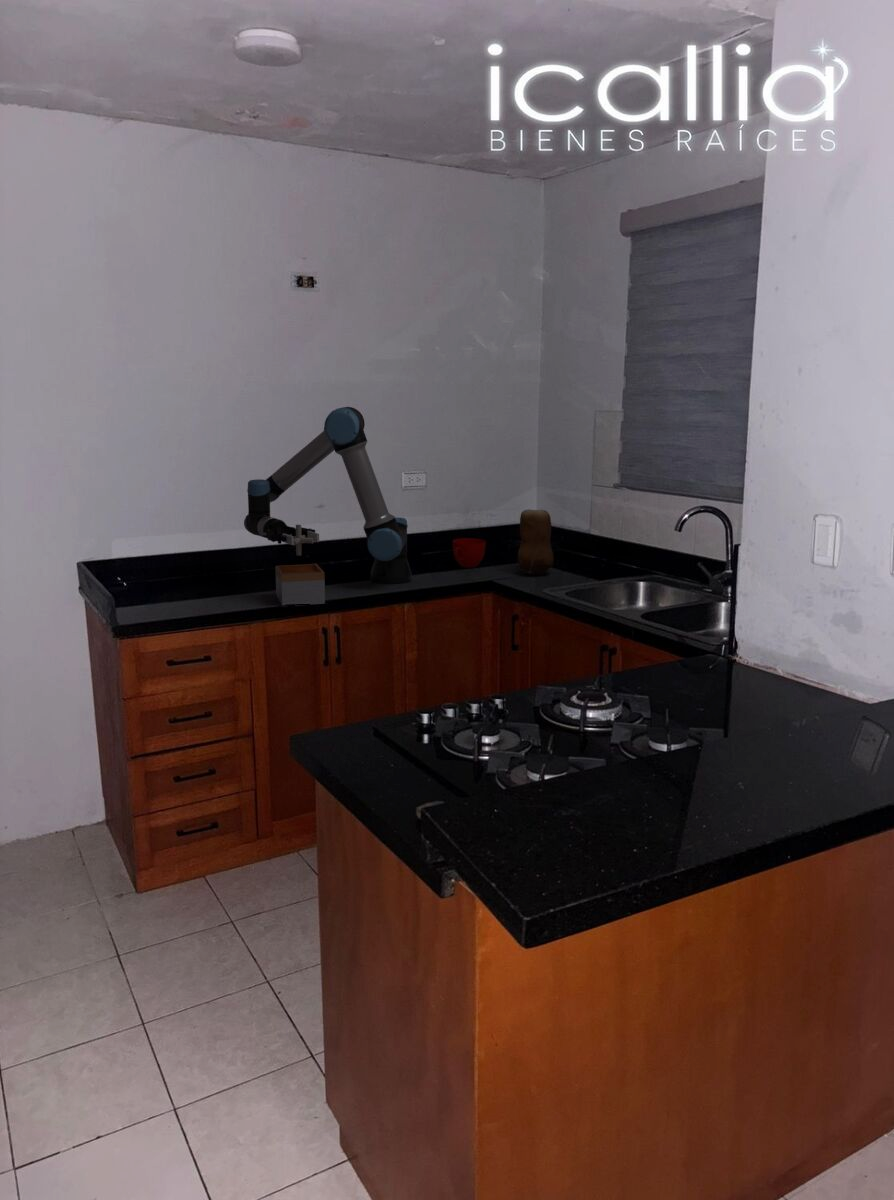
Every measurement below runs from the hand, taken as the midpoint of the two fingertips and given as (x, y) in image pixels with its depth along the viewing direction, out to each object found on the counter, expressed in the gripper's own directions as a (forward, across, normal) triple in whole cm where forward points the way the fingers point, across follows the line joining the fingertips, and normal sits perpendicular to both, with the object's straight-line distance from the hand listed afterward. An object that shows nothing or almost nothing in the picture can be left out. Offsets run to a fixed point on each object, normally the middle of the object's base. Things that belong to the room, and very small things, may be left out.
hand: (305, 539), depth 305 cm
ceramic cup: (-14, -79, -21) cm, 83 cm away
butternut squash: (+11, -92, -21) cm, 95 cm away
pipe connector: (-5, 0, -6) cm, 8 cm away
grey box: (-4, 0, -21) cm, 22 cm away
